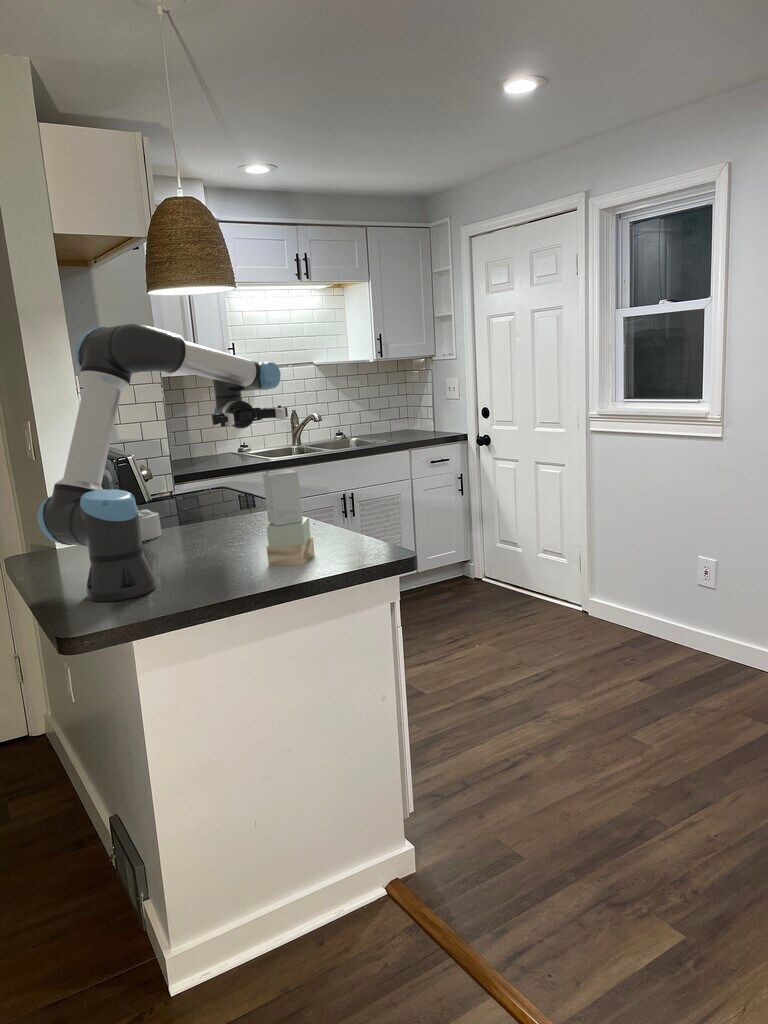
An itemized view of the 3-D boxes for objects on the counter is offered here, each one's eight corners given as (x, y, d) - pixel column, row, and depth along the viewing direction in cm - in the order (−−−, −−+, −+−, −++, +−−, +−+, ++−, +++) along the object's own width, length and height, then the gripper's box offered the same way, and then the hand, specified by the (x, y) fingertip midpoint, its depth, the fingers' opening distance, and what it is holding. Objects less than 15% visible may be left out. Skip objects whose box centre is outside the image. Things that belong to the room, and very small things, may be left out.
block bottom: (302, 565, 187) (300, 545, 186) (268, 565, 189) (266, 546, 188) (314, 555, 195) (312, 536, 194) (281, 556, 198) (279, 537, 197)
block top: (304, 544, 187) (302, 524, 186) (268, 546, 187) (266, 526, 186) (310, 536, 196) (308, 517, 195) (276, 538, 196) (273, 519, 195)
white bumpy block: (116, 539, 236) (112, 512, 235) (159, 532, 241) (155, 505, 240) (120, 545, 227) (115, 517, 225) (164, 538, 232) (160, 510, 230)
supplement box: (303, 522, 189) (298, 471, 186) (274, 526, 186) (268, 475, 184) (295, 517, 195) (290, 468, 193) (267, 521, 193) (261, 472, 190)
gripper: (282, 423, 219) (306, 426, 200) (195, 432, 209) (211, 436, 190) (279, 396, 217) (303, 397, 198) (191, 405, 207) (208, 406, 188)
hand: (258, 416), depth 194 cm, fingers open, 13 cm apart
